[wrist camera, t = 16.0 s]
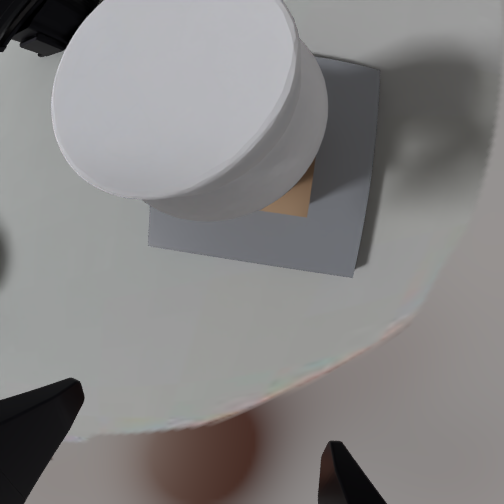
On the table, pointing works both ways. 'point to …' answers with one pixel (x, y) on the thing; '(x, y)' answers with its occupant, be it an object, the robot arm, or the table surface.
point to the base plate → (321, 199)
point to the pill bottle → (190, 104)
